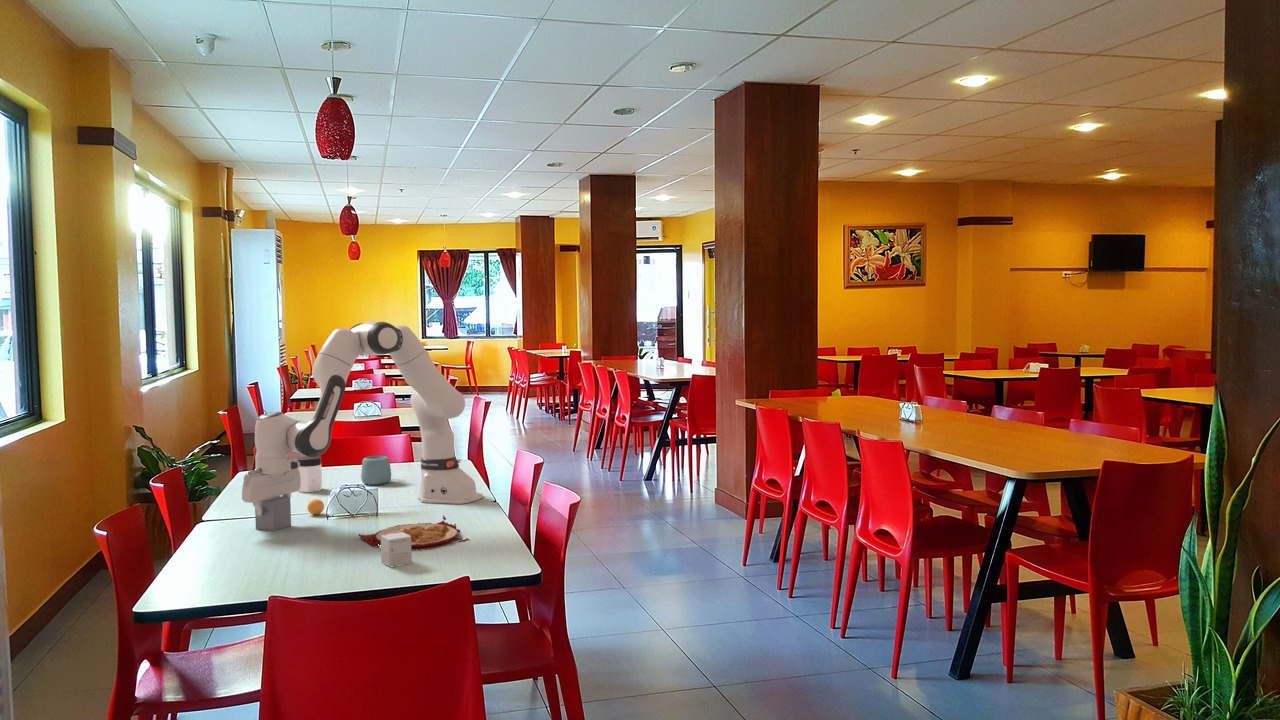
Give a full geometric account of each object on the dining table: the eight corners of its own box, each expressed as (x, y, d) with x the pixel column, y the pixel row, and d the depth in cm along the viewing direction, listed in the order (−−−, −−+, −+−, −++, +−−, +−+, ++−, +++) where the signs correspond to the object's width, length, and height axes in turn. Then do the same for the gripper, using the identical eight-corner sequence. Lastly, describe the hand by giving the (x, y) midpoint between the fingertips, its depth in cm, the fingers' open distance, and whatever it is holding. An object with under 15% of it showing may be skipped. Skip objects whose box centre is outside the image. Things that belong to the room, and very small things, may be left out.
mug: (372, 478, 346) (371, 453, 345) (399, 478, 345) (399, 453, 344) (356, 486, 331) (355, 459, 330) (384, 486, 330) (384, 459, 329)
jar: (302, 493, 318) (301, 460, 317) (293, 490, 323) (292, 457, 323) (326, 490, 324) (325, 457, 323) (317, 486, 330) (316, 454, 329)
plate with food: (358, 541, 255) (357, 529, 255) (444, 525, 271) (443, 513, 270) (389, 561, 235) (388, 548, 235) (480, 543, 251) (479, 530, 250)
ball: (327, 513, 286) (327, 498, 286) (316, 516, 281) (316, 501, 281) (315, 512, 288) (315, 497, 288) (304, 515, 283) (303, 500, 283)
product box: (389, 568, 225) (388, 539, 224) (380, 562, 230) (380, 534, 229) (412, 564, 228) (411, 536, 228) (403, 558, 233) (402, 531, 233)
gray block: (291, 525, 270) (290, 497, 269) (273, 531, 263) (272, 501, 263) (273, 523, 272) (272, 495, 272) (255, 529, 266) (254, 500, 265)
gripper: (252, 472, 256) (253, 520, 257) (303, 461, 275) (304, 505, 276) (235, 471, 258) (237, 518, 259) (288, 460, 277) (289, 504, 278)
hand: (272, 511), depth 268 cm, fingers open, 8 cm apart
